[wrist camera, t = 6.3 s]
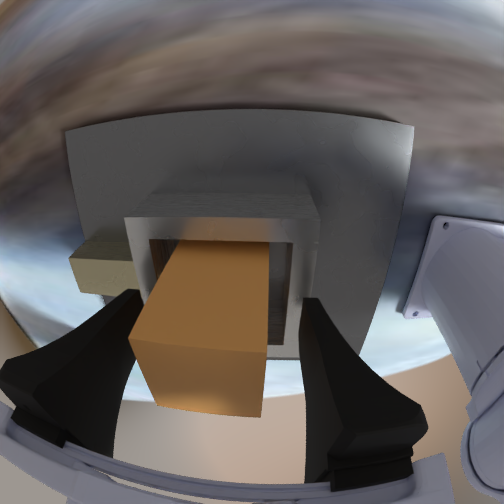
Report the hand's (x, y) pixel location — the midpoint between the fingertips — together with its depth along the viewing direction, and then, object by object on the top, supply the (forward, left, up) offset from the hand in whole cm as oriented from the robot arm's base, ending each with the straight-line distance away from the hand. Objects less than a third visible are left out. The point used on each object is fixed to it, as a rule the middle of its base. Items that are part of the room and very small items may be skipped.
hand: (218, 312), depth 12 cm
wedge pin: (0, 0, -4) cm, 4 cm away
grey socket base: (0, 0, -5) cm, 5 cm away
